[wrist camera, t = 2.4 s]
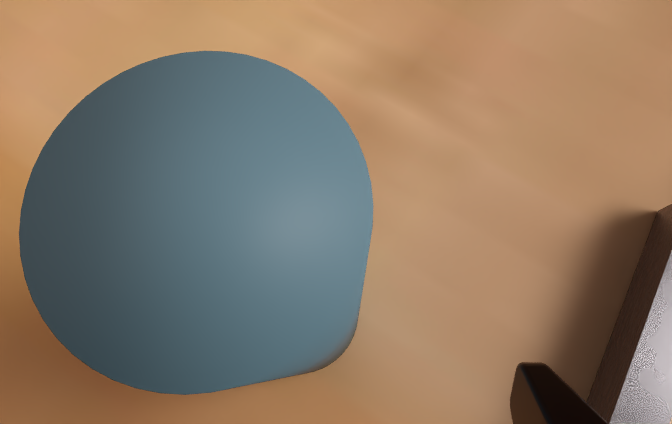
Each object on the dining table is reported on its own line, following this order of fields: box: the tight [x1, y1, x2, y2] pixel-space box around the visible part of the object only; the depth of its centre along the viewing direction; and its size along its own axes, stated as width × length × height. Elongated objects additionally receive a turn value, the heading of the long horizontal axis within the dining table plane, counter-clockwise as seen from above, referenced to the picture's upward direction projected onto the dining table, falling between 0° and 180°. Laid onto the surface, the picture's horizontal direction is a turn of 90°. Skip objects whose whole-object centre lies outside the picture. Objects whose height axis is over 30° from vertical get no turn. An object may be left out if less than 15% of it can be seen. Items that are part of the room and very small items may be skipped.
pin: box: [19, 51, 373, 395], centre depth 13 cm, size 4×4×13 cm
